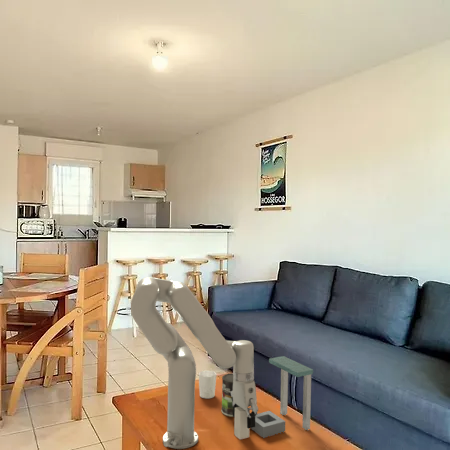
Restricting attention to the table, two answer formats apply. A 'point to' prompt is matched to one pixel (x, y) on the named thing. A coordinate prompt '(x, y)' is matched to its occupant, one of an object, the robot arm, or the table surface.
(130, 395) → the table surface
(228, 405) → the coffee can
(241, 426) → the peg
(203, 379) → the white cup
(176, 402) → the robot arm
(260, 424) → the socket
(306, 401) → the green-topped leg bench
